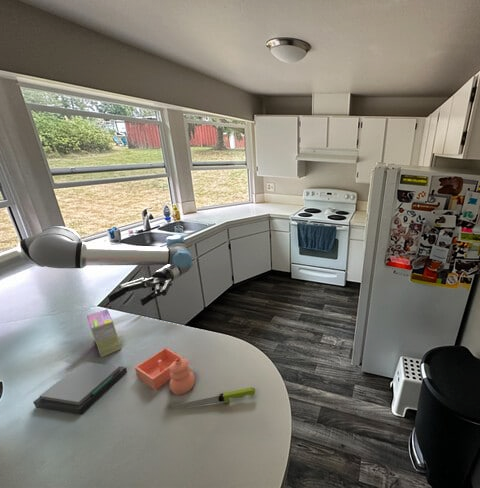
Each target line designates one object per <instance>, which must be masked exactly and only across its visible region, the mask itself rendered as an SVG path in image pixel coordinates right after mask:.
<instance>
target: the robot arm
mask: <svg viewBox="0 0 480 488" xmlns="http://www.w3.org/2000/svg"><path fill="white" fill-rule="evenodd" d="M81 239H82V238H81V237H80V235H79V234H78V232H77V231H75V230H74V229H72V228H69V227H67V226H61V225H60V226H58V225H57V226H51V227H47V228H44V229H43V230H42V231H41V232H38V233H37V234H34V235H31V236H27V237H25V238H23V239H20V240H19V241H18V244H17V246H14V247H11V248H8V249H6V250H2V251H0V281H1V280H4V279H6V278H9V277H11V276H14V275H16V274H19V273H22V272H23V271H27V270H28V269H31V268H34V267H40V268H45V267H46V268H51V269H72V270H73V269H84V268H85V267H87V266H163V267H161V268H160V269H158V270H156V271H155V272H153V273H152V275H151V276H150V277H149V278H146V276H142V277H139V278H137V279H135V280H131V281H127V282H125V283H122V284H119V285H118V289H117V290H115V291H114V292H112V293H110V294H107V299H108V301H109V303H112V302H114V301H116V300H117V299H119V298H121V297H122V296H124V295H126V294H127V293H128V292H132V291H135V290H139V289H147V288H153V289H154V290H152V291H150V292H149V293H147V294H146V295H144V296H142V297H141V298H140V304H141V306H145V305H146V304H148V303H150V302H151V301H152V300H155V299H156V298H158V297H160V296H162V297H165V296H167V294H168V291H169V290H170V287H172V285H173V281H175V280H176V279H178V278H179V277H181V276H182V275H184V274H186V273H187V272H188V271H190V270H191V269H192V268H193V267H194V262H193V257H192V254H191V251H189V250H188V248H187V246H186V241H185V238H184V236H183V235H180V234H179V235H178V234H177V235H170V236H168V237H166V238H165V243H166V244H165V246H166V247H160V246H133V245H132V246H130V245H129V246H128V245H101V244H100V245H99V244H98V245H97V244H88V243H86V242H85V241H82V240H81ZM161 287H162V288H161Z"/></svg>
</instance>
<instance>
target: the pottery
mask: <svg viewBox="0 0 480 488" xmlns="http://www.w3.org/2000/svg"><path fill="white" fill-rule="evenodd" d="M189 364H190V362H189V360H188V359H187V358H184V357H183V356H181V355H179V354H178V353H176V352H174V351H172V350H171V349H169V348H168V347H164V348H163V349H161V350H160V351H158V352H157V353H155V354H153V355H152V356H150V357H149V358H147V359H145V360H144V361H142V362H141V363H139V364H138V365H136V366H135V367H134V369H135V374H136V376H137V379H138V380H139V381H142V382H143V383H144V384H146V385H147V386H149V387H151V388H152V389H153V390H154V391H156V390H158V389H159V388H160V387H162V386H163V385H165V384H166V383H167V382H168V381H170V382H169V389H170V391H171V392H172V393H173V394H174V395H177V396H179V395H183V394H186V393H188V392H189V391H191V389H193V387H194V385H195V380H196V376H195V374H194V373H193V371H191V366H190V365H189Z"/></svg>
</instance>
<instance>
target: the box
mask: <svg viewBox="0 0 480 488" xmlns="http://www.w3.org/2000/svg"><path fill="white" fill-rule="evenodd" d="M86 318H87V322H88V325H89V328H90V331H91V334H92V336H93V339H94V341H95V344H96V347H97V350H98V353H99V356H100V358H103V357H105V356H108V355H110V354H113V353H115V352H118V351H120V350H122V346H121V343H120V340H119V336H118V333H117V330H116V328H115V323H114V321H113V318H112V316H111V314H110V312H109V309H108V308H106V309H103V310H99V311H97V312H94V313H91V314H88V315H86Z"/></svg>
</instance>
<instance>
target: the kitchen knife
mask: <svg viewBox="0 0 480 488" xmlns="http://www.w3.org/2000/svg"><path fill="white" fill-rule="evenodd" d="M255 393H256V389H255V388H254V387H252V386H251V387H247V388H241V389H236V390H231V391H226V392H223V393H222V392H221V393H219V395H216V396H209V397H205V398H200V399H195V400H191V401H186V402H181V403H176V404H170V407H172V408H176V409H187V408H193V407H194V408H195V407H201V406H207V405H212V404H219V403H225V404H229V402H230V399H241V398H243V397H246V396H251V397H253V396H255Z"/></svg>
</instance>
